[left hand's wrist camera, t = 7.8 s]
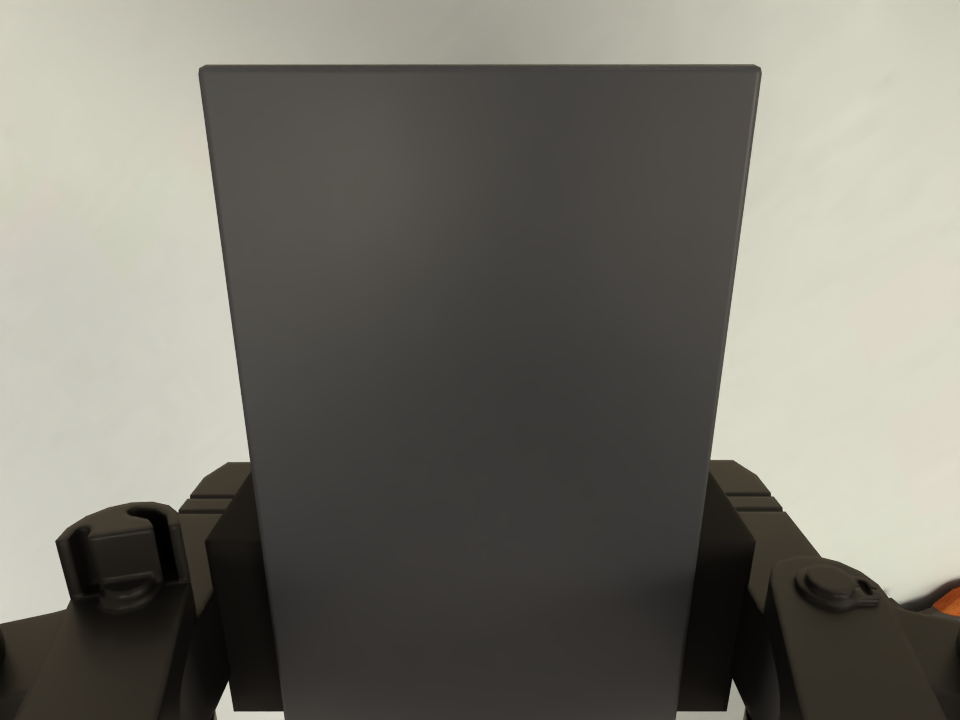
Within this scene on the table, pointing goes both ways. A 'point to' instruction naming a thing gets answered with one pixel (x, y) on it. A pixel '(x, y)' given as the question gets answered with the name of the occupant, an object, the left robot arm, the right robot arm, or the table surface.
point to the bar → (480, 372)
